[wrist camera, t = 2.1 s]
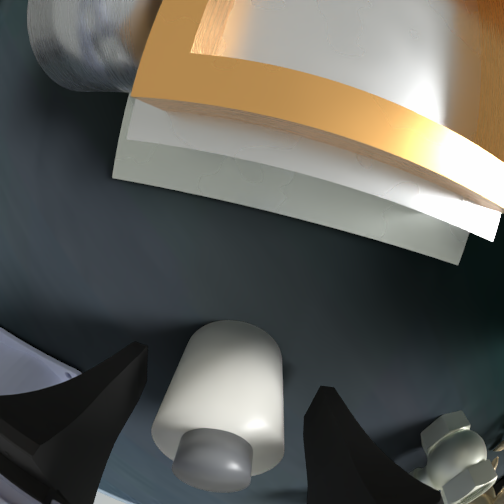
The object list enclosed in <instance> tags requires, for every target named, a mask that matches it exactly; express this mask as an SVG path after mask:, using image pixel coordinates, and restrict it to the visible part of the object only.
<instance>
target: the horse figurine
mask: <svg viewBox="0 0 504 504" xmlns="http://www.w3.org/2000/svg"><path fill="white" fill-rule="evenodd" d="M503 449H504V440H503V441H502V442H500V443H499V444H498V446H497V447H496V448H495V449H494V450H493V451H502V450H503ZM491 464H492V466H493V468H494V470H495V469H496V467H497V464H498V457H496V458H495V459H494V460H493V461H492V463H491ZM468 504H504V487H503V488H502V489H501V490H500V492H499V493H498V495H497V496H496V494H495V490H494V488H493V487H492V486H491V487H490V488H489V489H488V490H487V491H486V492H484V493H483V494H482V495H480V496H479V497H477V498H476V499H474V500H473V501H471V502H469V503H468Z"/></svg>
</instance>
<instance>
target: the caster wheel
mask: <svg viewBox="0 0 504 504" xmlns="http://www.w3.org/2000/svg"><path fill="white" fill-rule="evenodd" d="M492 487H493V488H494V490H495V494H496V496H497V495H498V493H499V492H500V490H501V489H502V488H503V487H504V479H502V480H501V481H499V482H497V483H496V484H495V485H493V486H492Z"/></svg>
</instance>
